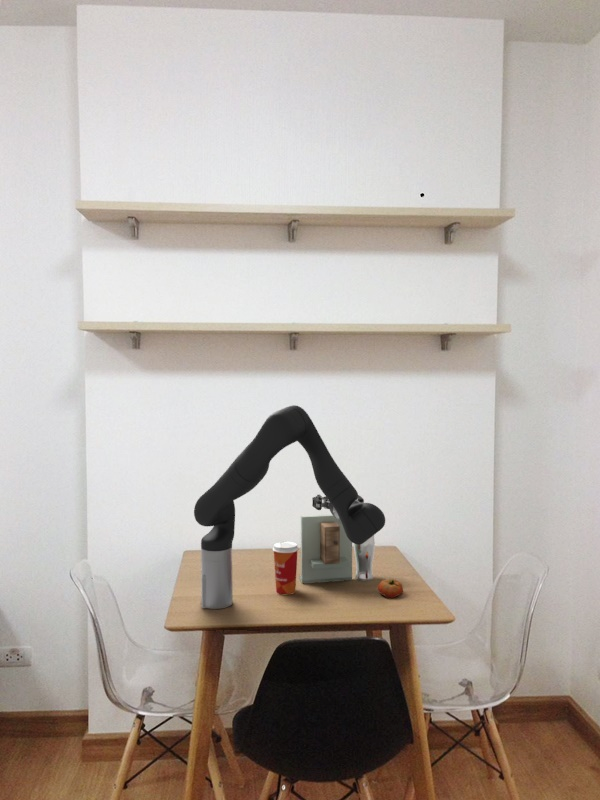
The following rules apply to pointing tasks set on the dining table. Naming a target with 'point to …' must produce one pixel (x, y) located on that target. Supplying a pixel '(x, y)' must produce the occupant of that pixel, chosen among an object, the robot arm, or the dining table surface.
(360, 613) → the dining table surface
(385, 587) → the tomato
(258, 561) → the dining table surface
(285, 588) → the coffee cup
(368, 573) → the beer glass
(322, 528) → the cabinet
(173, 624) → the dining table surface
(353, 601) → the dining table surface
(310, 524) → the wall board
